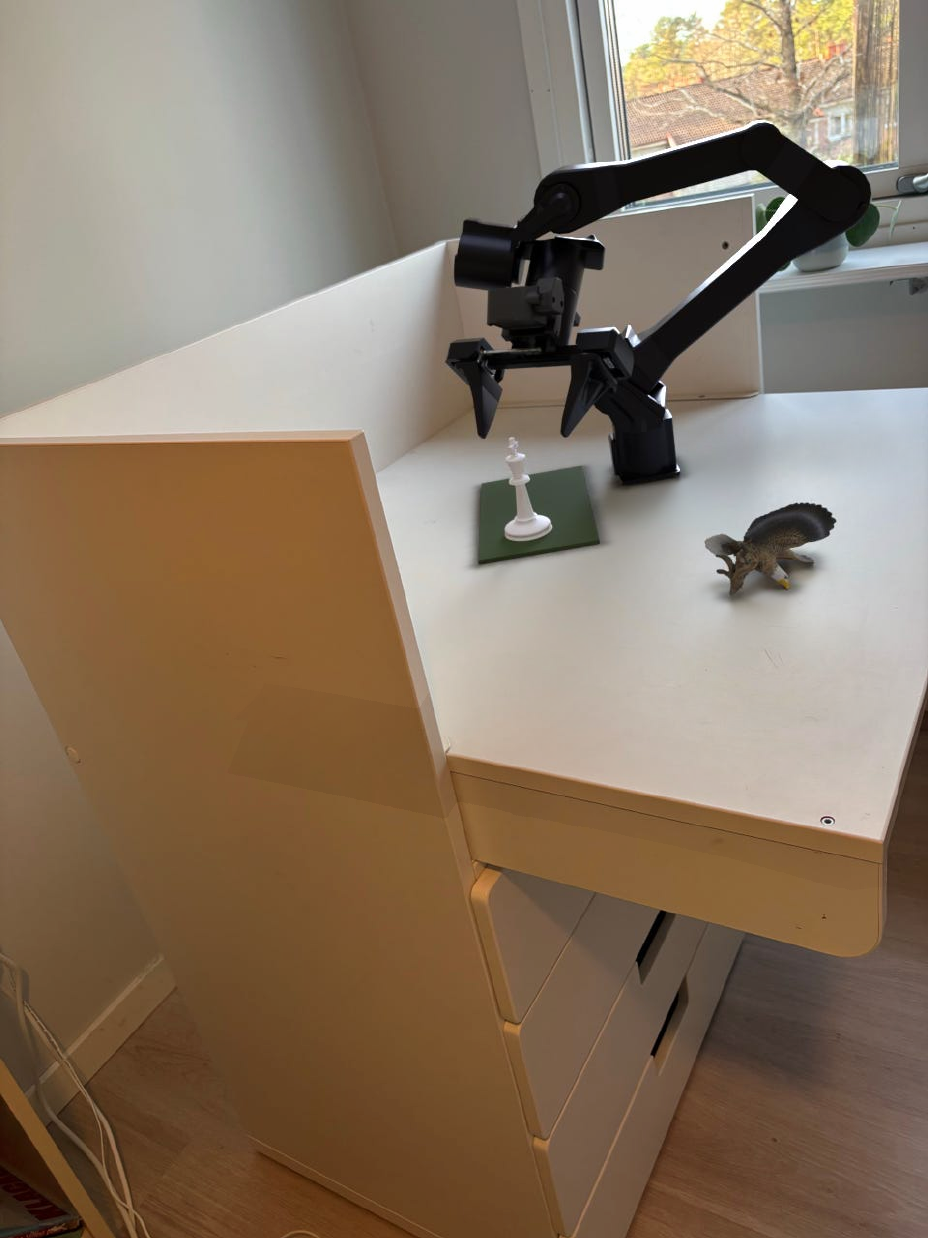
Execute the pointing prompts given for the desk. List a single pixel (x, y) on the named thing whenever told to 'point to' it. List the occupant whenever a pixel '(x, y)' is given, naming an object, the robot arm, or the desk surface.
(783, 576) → the eagle figurine
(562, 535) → the green board
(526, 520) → the chess piece
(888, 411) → the desk surface
